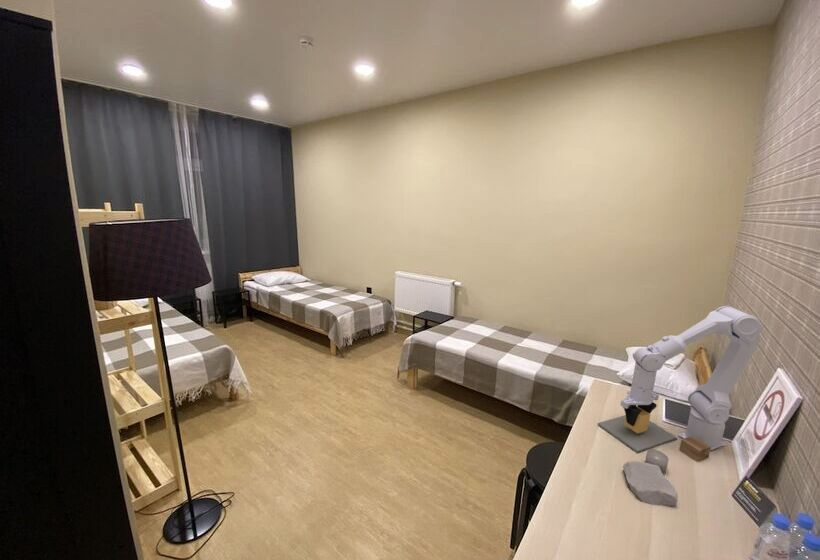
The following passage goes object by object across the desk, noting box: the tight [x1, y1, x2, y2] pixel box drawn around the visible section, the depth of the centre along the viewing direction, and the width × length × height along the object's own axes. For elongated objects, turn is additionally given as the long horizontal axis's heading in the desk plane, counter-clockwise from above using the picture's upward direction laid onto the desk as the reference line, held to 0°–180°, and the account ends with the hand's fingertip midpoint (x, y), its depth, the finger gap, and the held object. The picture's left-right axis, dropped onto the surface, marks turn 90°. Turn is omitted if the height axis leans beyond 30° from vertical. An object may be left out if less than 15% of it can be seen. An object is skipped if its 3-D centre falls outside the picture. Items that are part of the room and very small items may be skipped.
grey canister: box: [644, 448, 670, 475], centre depth 96 cm, size 5×5×4 cm
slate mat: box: [597, 414, 678, 454], centre depth 111 cm, size 18×14×1 cm
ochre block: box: [624, 405, 651, 433], centre depth 109 cm, size 4×4×6 cm
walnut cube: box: [678, 436, 712, 463], centre depth 101 cm, size 5×5×4 cm
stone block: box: [622, 460, 679, 507], centre depth 89 cm, size 12×5×10 cm
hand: (635, 422), depth 110 cm, fingers closed on ochre block, 4 cm apart
